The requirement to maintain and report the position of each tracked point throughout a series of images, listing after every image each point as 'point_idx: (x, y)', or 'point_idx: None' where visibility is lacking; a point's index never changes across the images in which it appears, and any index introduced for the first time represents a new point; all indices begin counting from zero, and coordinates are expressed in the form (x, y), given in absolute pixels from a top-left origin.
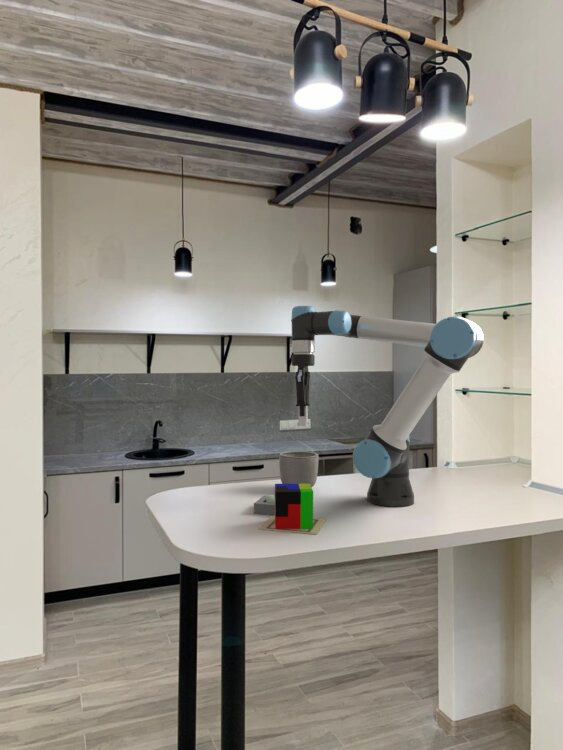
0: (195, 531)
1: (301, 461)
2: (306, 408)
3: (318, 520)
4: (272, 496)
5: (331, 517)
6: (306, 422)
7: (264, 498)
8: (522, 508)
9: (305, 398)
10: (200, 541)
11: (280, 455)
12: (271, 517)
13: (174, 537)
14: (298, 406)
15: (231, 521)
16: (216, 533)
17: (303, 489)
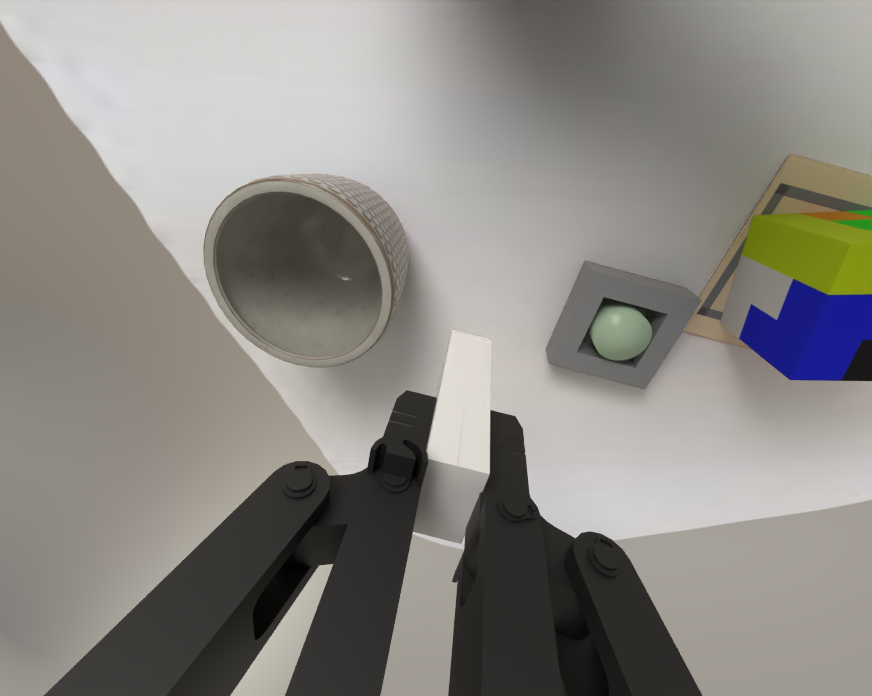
0: (764, 480)
1: (396, 270)
2: (488, 453)
3: (789, 184)
4: (594, 343)
5: (745, 128)
6: (489, 357)
7: (587, 361)
8: None
9: (549, 619)
10: (850, 470)
11: (343, 363)
12: (703, 331)
13: (795, 510)
14: (461, 541)
15: (701, 420)
16: (799, 445)
17: None
